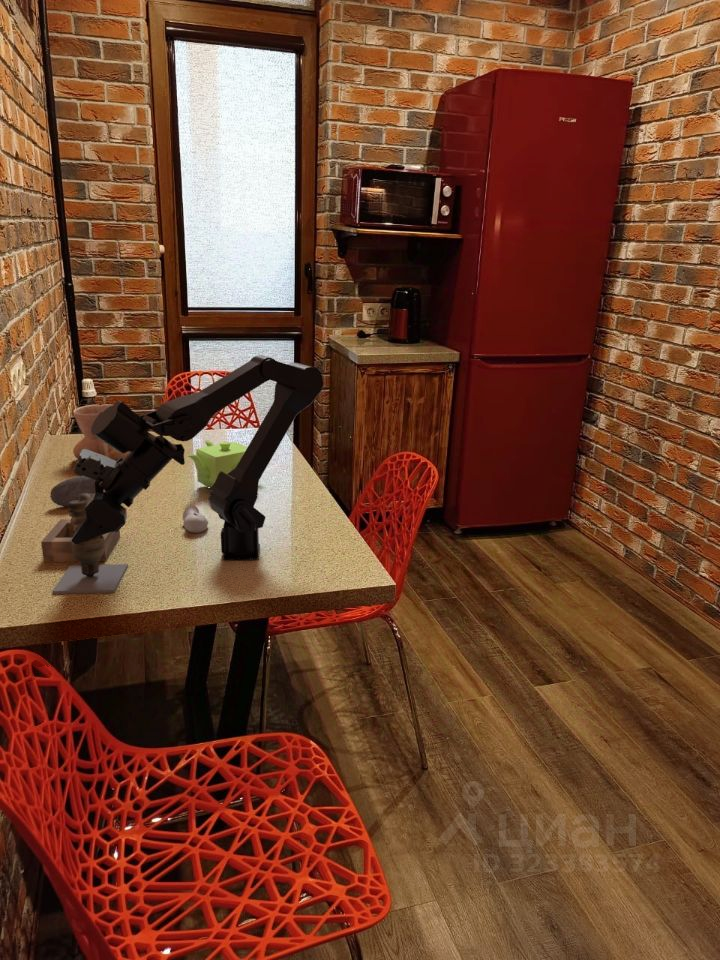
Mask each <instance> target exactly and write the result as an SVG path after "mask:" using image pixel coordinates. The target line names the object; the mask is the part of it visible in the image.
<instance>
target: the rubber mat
mask: <svg viewBox="0 0 720 960" xmlns="http://www.w3.org/2000/svg"><path fill="white" fill-rule="evenodd" d="M128 567H129V564H128V563H121V564H120V563H113V564H112V563H110V564H109V563H108V564H105V563H104V564H99V572H98V573H95V574H94V576H92V577H87V576H86V575H83V574H82V570H81V564H70V565H69V566H68V568H67V570H66V571H65V573H63V575H62V576H61V578H60V579H59V581H58V582H57V584H56V585H55V586H54V588H53V589H52V590H51V593H52V595H54V594H55V595H57V594H58V595H63V594H64V595H65V594H68V595H69V594H102V593H104V594H107V593H108V594H109V593H111V594H113V593H116V590H117V588H118V587H119V585H120V583H121V581H122V579H123V578H124V576H125V574H126V572H127V570H128Z"/></svg>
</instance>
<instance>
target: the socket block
mask: <svg viewBox="0 0 720 960" xmlns="http://www.w3.org/2000/svg"><path fill="white" fill-rule="evenodd" d="M70 520H71V518H62V519H59V520H58V522H57V523H56V524H55V525H54V526H53V527H52V528H51V530H50V531H49V532H48V533H47V534H46V536H44V538H43V539H42V540H41V541H40V544H41V550H42V551H41V552H42V558H43V563H63V562H64V563H66V562H67V563H72V562H73V563H74V562H77V563H78V562H79V561H78V560H77V559H76V558H75V557H74V555H73V551H72V543H71V540H72V538H73V537H74V535H75V533H76V532H74V530H73V529H74V525H73V524H71V523H70ZM120 530H121V529H120ZM120 530H119V531H118V532H109V533H106V534H103V535H102V536H103V537H104V542H105V550H104V554H103V555H102V557H101V559H100V560H99V562H107V560H108V558H109V557H110V555H111V553H112V552H113V550H114V548H115V547H116V545H117V544H118V542H119V540H120V539H121V532H120ZM79 563H80V562H79Z"/></svg>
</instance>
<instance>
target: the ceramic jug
mask: <svg viewBox="0 0 720 960" xmlns="http://www.w3.org/2000/svg"><path fill="white" fill-rule="evenodd" d="M112 405H113V404H108V403H106V404H101V405H99V404H89V405H84V406H83V405H82V406H80V407H78V408H75V409H73V415H74V418H75V421H76V423H77V425H78V427H79V429H80V431H81V432H82V434H83V436H84V437H83V438H81V440H80V441H78V442H77V443H76V444H75V445H74V447H73V450H72V451H73V455H74V457H75V458H76V460H78V457H79V455H80V453H81V451H82V449H87V450H90V451H93V452H95V453H98V454H101V455H104V456H106V457H108V458H110V459H113V460H115V461H117V460H118V459H119V458H120V457H121V456H122V457H123V456H124V455H125V456H127V455H128V454H129V453H130V451H128V452H126V453H120V452H118V451H117V450H115V449H114V448H112V447H111V446H110V445H108V444H107V443H105V442H104V441H102V440H101V439H99V438H98V437H96V436H95V435H93V434H92V433H91V428H92V425H93V423H94V421H95V419H96V418H97V416H98V415H99V414H100V413H102V412H103V411H104V410H106V409H107V408H108V407H110V406H112Z"/></svg>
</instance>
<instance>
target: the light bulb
mask: <svg viewBox="0 0 720 960" xmlns="http://www.w3.org/2000/svg"><path fill="white" fill-rule="evenodd" d="M93 495H94V494H89V493H84V494H80V496H79V499H80V500H74V501H70V502H69V503H68V509H69V510H68V516H69V517H71V518H70V519H71V520H70V523H71V524H73V525H74V529H73V530H74V532H77V530H78V529H79V527H80V526H81V524H82V523H83V521H84V520H85V518H86V512H85V506H86V503H87V502H88V501H89V500H90V498H91V497H92V496H93ZM71 543H72V551H73V555H74V557H75V558H76V559H77V560H78V561H79V564H80V565H81V570H82V574H83V575H86V576H87V577H92V576H94V574H95V573H98V572H99V565H100V561H99V560H100V559H101V557H102V555H103V554H104V550H105V542H104V537H103V536H102V535H100V536H98V537H95V538H92V539H90V540H87V541H85V542H82V543H80V544H77V545H76V544H74V543H73V542H72V541H71Z"/></svg>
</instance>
